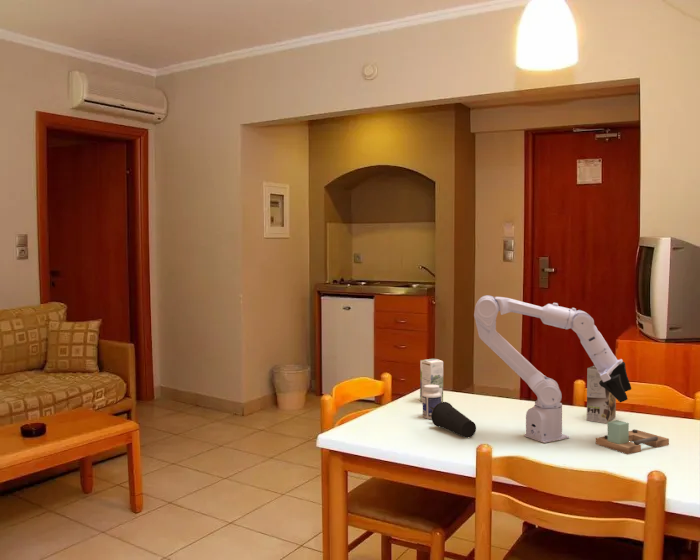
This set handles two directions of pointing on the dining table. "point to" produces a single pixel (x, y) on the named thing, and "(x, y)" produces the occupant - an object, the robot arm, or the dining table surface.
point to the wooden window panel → (638, 439)
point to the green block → (618, 432)
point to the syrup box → (431, 375)
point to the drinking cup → (452, 420)
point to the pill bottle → (430, 399)
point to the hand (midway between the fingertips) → (625, 395)
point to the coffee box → (599, 399)
